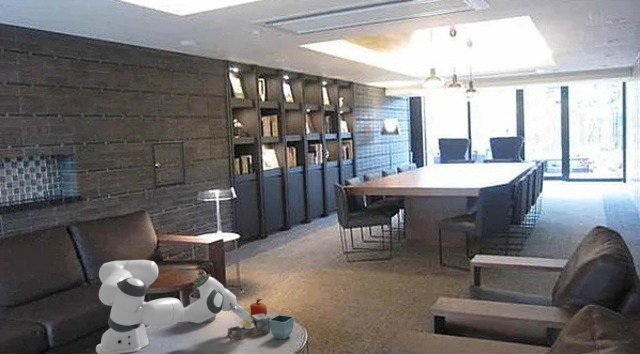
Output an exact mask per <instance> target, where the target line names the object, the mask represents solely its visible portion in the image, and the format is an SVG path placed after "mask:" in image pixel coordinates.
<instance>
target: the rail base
mask: <svg viewBox="0 0 640 354" xmlns="http://www.w3.org/2000/svg"><path fill="white" fill-rule="evenodd" d="M251 319H252V321H251V324H252V323H257V328H253V329H248V330H243V326H239V325H238V326H237V325H236V326H232V327H228V328H227V336H228V337H230V338H231V339H232V341H236V340H239V339H245V338H249V337H250V338H251V337H253V336H259V335H264V334H269V333H271V329H270V324H269V320H270V319H271V318H270V317H269V316H268V315H267V314H266V315H265V314H263V313H262V314H256V315H252V318H251Z"/></svg>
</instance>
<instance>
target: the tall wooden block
mask: <svg viewBox="0 0 640 354" xmlns="http://www.w3.org/2000/svg"><path fill="white" fill-rule="evenodd" d="M241 307H242V308H243V309H244V310H245V311H246V312H248V313H249V314H250V316H249V317H250V318H251V307H250V305H245V306H241ZM251 319H252V318H251ZM242 327H243V330H248V329H253V328H257V323H252V321H251V322H248V321H247V320H246V321H245V320H243V319H242Z"/></svg>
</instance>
